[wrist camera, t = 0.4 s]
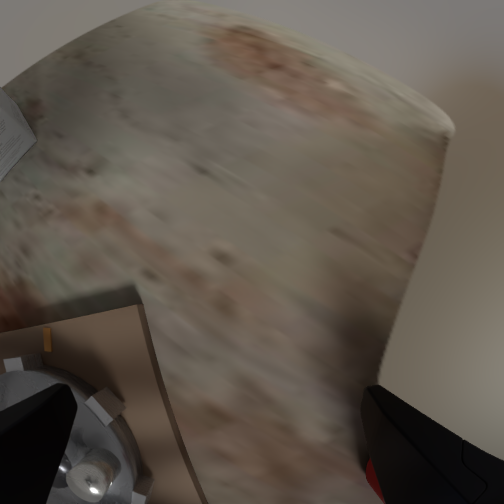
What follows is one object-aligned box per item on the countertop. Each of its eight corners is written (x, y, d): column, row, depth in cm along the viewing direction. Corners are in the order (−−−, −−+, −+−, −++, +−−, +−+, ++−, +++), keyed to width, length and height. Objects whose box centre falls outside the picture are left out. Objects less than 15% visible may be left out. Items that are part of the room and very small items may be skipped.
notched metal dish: (176, 521, 17) (161, 571, 11) (41, 510, 16) (9, 540, 10) (108, 341, 20) (60, 354, 13) (-20, 360, 18) (-69, 368, 12)
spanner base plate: (217, 523, 19) (216, 534, 17) (40, 514, 18) (33, 521, 16) (143, 304, 22) (136, 304, 20) (-28, 339, 20) (-39, 339, 19)
